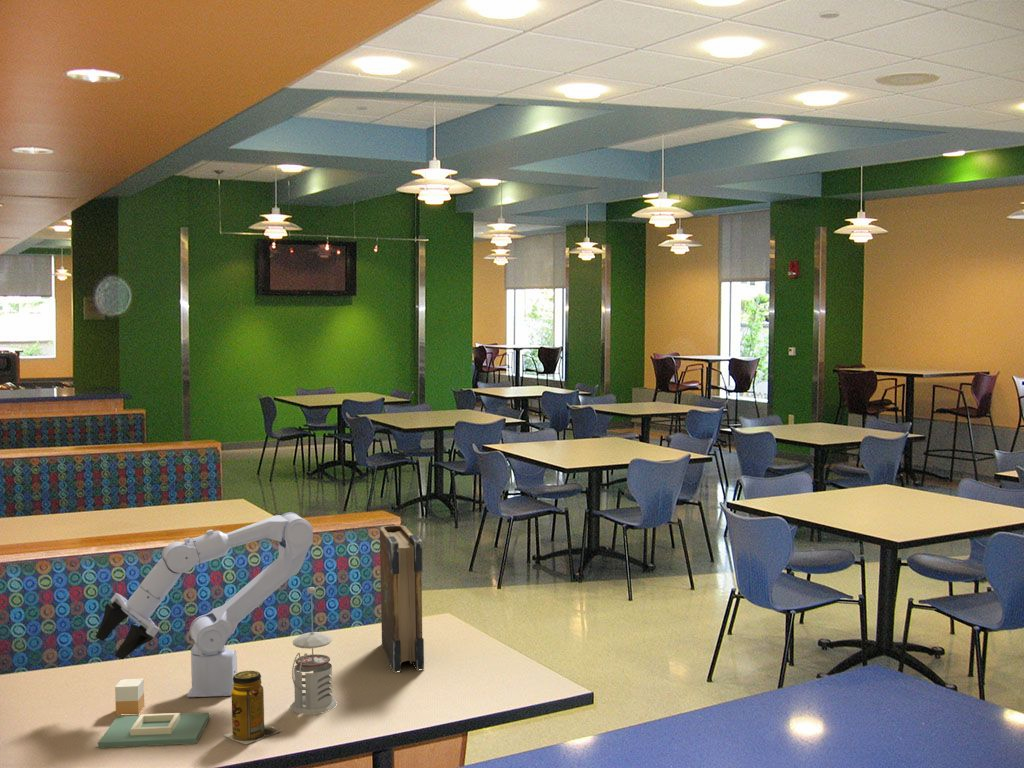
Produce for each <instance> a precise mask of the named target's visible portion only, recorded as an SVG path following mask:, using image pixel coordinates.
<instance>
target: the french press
mask: <svg viewBox="0 0 1024 768" xmlns="http://www.w3.org/2000/svg"><path fill="white" fill-rule="evenodd" d="M306 593H307V594H310V600H311V601H310V602H311V603H310V604H311V607H310V609H311V612H310V613H311V632H305V633H303V634H300V635H299V636H297V637H296V638H295V639H294V640H292V645H293V646H295V647H296V648H299V649H311V653H310V654H307V653H304V655H301V653H300V652H298V653H297V654H296V655H295V658H294V659H293V663H292V667H291V668H292V671H291V675H292V677H291V679H292V683H293V686H294V692H293V693H294V701H293V702H292V703H291V704H290V705H289V710H290V709H291V711H292V712H293V711H294V712H293V713H296V712H297V714H300V713H301V715H316V713H318V714H322V713H321V712H323V713H327V712H329V711H328V710H330V711H331V709H332V710H333V708H334V707H335V706H336V704H337V705H338V702H337V703H336V701H337V700H336V699H334V698H333V695H332V694H333V689H331V688H333V683H331V682H333V678H332V677H331V676H333V667H332V666H333V665H332V663H330V661H331V658H330V656H328V655H326V654H322V653H321V654H319V653H315V654H314V649H318V648H322V647H325V646H328V645H329V644H331V642H333V639H332V637H331V636H329V635H327V634H326V633H322V632H318V631H314V626H313V624H314V622H313V619H314V618H313V594H315V593H316V594H317V590H316V587H314V586H310V587H308V588H307V589H306ZM295 664H296V665H295ZM303 673H304V674H303ZM303 679H304V680H303ZM303 685H305V686H303ZM303 691H305V692H303ZM336 707H337V706H336ZM336 707H335V708H336ZM335 708H334V709H335ZM326 711H327V712H326ZM302 713H303V714H302Z"/></svg>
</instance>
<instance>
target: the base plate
mask: <svg viewBox="0 0 1024 768" xmlns="http://www.w3.org/2000/svg"><path fill="white" fill-rule="evenodd" d="M209 717H211V716H210V712H193V713H180V712H173V713H172V712H170V713H169V712H168V713H166V712H165V713H149V714H148V713H147V714H139V715H124V716H116V718H115V720H113V721H112V723H111V724H110V726H109V727H108V729H107V730H106V731H105V732H104V734H103V735H102V737H101V738H100V739H99V741H98V742H97V748H98V749H102V748H120V747H121V748H122V747H123V746H126V747H143V746H144V747H146V746H147V745H148V746H164V745H165V746H167V745H185V744H186V745H189V744H197V743H198V741H199V739H200V737H201V735H202V733H203V731H204V729H205V727H206V725H207V724H208V721H209V719H210V718H209ZM148 746H147V747H148ZM123 748H124V747H123Z"/></svg>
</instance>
